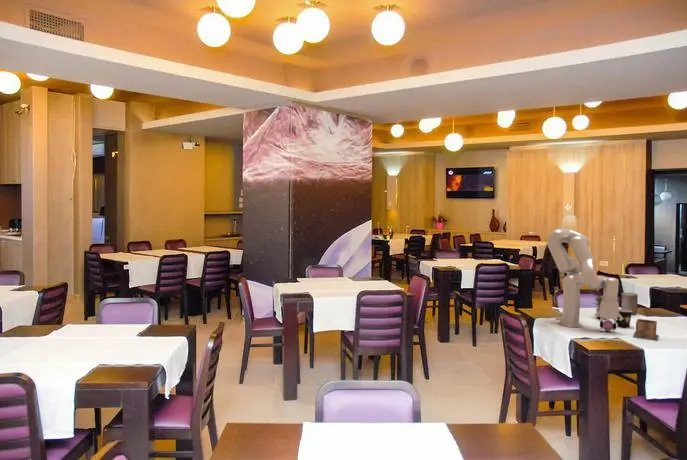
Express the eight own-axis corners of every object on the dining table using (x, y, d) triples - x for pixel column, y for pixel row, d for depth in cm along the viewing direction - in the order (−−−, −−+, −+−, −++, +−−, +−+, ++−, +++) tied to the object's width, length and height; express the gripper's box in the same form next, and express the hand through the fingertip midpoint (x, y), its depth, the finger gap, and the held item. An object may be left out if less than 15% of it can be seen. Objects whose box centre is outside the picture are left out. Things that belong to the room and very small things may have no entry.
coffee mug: (629, 325, 338) (630, 309, 338) (632, 329, 330) (633, 312, 330) (609, 324, 342) (609, 308, 341) (610, 327, 334) (611, 310, 333)
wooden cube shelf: (632, 337, 310) (633, 321, 310) (634, 333, 320) (635, 318, 320) (657, 340, 304) (658, 325, 303) (658, 336, 314) (659, 321, 313)
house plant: (588, 319, 353) (589, 294, 352) (587, 315, 366) (588, 291, 365) (612, 322, 348) (613, 296, 347) (611, 317, 361) (612, 292, 360)
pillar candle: (637, 313, 375) (638, 291, 374) (636, 315, 367) (637, 293, 366) (621, 311, 380) (622, 290, 380) (620, 314, 372) (620, 292, 371)
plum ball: (601, 330, 322) (602, 320, 321) (602, 328, 327) (603, 318, 326) (612, 332, 319) (613, 322, 318) (614, 330, 324) (614, 320, 323)
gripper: (593, 297, 323) (590, 327, 324) (625, 302, 313) (623, 333, 315) (595, 295, 329) (592, 325, 331) (627, 300, 320) (624, 330, 321)
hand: (607, 328), depth 323 cm, fingers closed on plum ball, 5 cm apart
